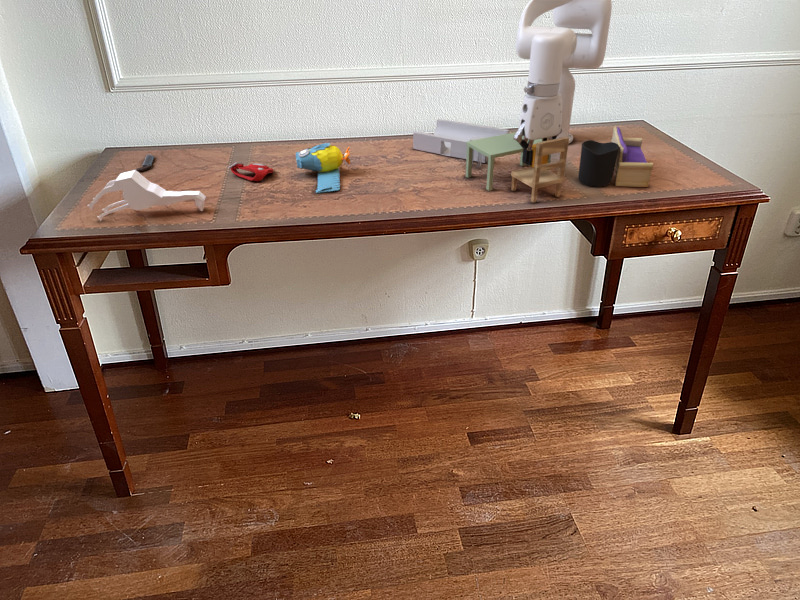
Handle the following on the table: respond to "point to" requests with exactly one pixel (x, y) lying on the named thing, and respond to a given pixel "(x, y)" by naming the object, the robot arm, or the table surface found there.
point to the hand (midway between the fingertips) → (535, 161)
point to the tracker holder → (256, 168)
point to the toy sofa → (630, 162)
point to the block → (544, 158)
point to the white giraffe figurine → (144, 194)
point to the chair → (544, 168)
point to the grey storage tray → (454, 139)
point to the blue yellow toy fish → (323, 165)
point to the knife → (146, 163)
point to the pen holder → (597, 163)
